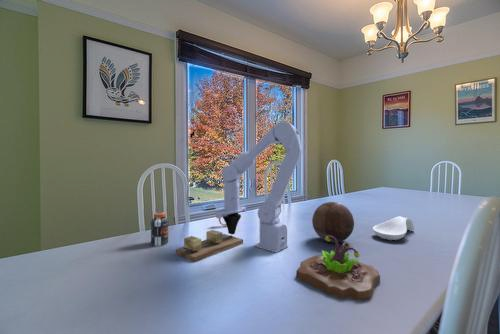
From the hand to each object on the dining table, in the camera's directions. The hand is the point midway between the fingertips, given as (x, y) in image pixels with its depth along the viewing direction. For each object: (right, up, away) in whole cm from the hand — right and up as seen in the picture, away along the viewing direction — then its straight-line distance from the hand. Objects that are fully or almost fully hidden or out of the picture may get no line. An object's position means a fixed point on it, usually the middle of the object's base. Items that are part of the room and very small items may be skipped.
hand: (231, 233), depth 95 cm
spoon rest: (+67, -4, +9) cm, 68 cm away
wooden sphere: (+38, -3, +1) cm, 38 cm away
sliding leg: (-6, -1, -6) cm, 9 cm away
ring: (-4, -2, +20) cm, 21 cm away
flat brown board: (-6, -3, -8) cm, 10 cm away
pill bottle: (-26, -3, -3) cm, 26 cm away
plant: (+30, -5, -28) cm, 41 cm away
